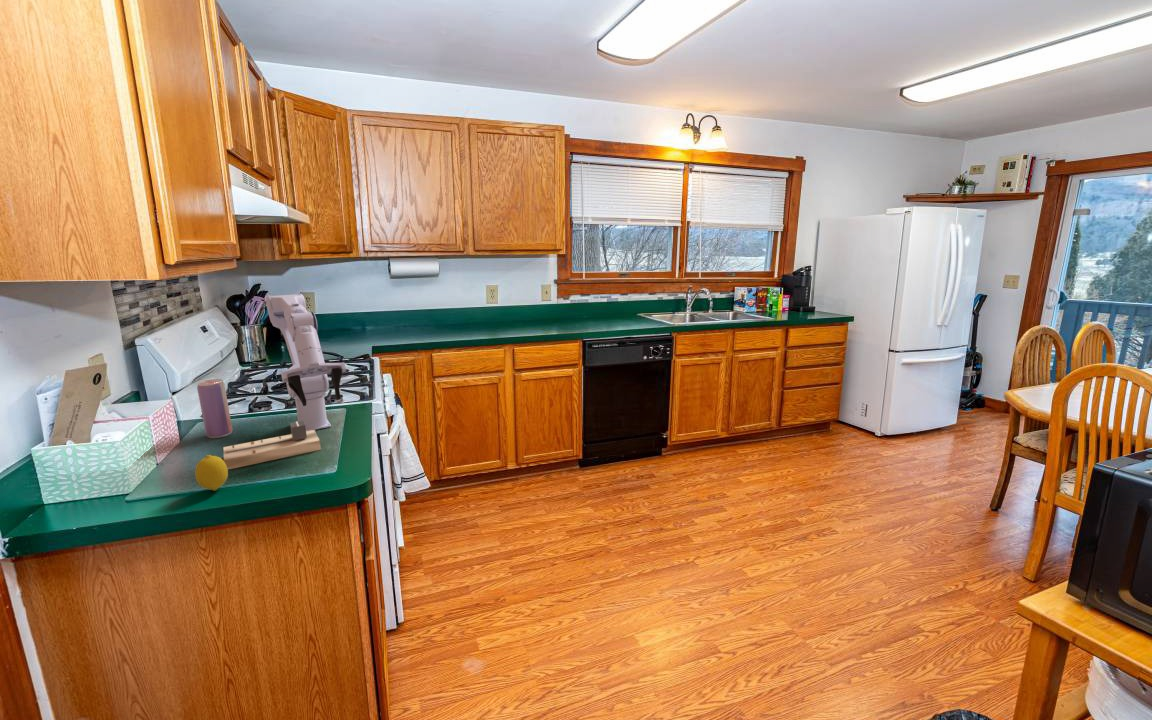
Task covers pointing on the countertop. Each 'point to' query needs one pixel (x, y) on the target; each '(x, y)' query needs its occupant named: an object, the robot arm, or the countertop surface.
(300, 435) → the fader
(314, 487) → the countertop surface
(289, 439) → the console
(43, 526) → the countertop surface
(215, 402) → the beverage can
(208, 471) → the lemon
